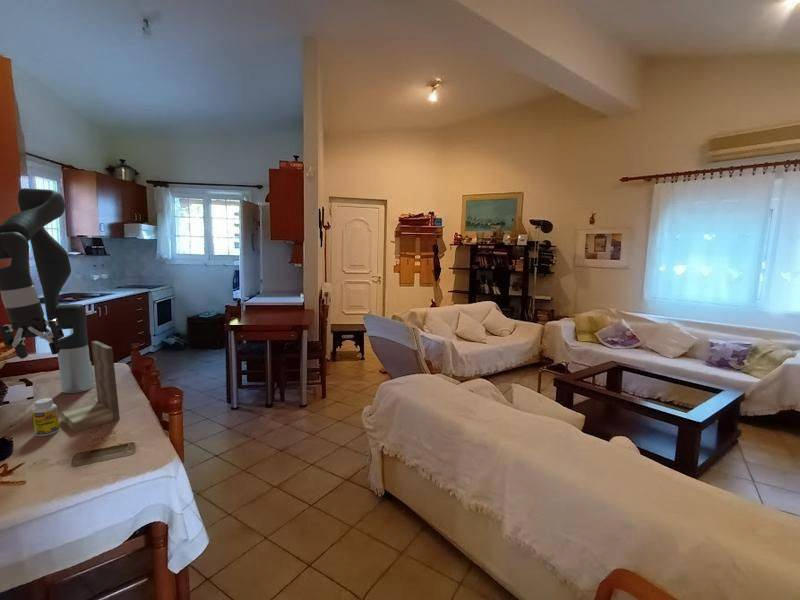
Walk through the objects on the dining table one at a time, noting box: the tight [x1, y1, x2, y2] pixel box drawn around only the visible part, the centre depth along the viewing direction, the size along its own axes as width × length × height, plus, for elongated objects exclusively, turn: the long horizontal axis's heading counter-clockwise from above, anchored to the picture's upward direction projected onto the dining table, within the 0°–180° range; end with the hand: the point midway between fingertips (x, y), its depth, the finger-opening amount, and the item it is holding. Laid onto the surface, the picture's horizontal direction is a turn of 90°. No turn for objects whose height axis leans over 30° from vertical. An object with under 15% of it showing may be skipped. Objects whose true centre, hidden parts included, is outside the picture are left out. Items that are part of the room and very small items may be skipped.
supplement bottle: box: [31, 397, 60, 437], centre depth 120 cm, size 6×6×10 cm
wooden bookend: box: [60, 340, 121, 433], centre depth 127 cm, size 14×12×24 cm
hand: (40, 355), depth 118 cm, fingers open, 8 cm apart
